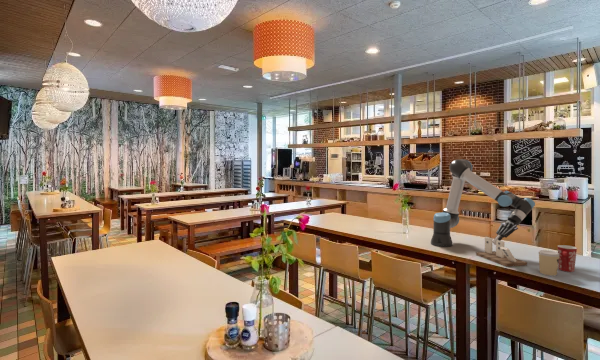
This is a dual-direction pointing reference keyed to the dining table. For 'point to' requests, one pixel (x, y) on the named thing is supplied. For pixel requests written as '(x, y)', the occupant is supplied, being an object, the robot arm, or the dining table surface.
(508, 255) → the tile
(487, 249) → the tile
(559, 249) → the mug
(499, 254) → the tile
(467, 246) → the dining table surface
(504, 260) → the tap board
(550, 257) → the coffee cup
